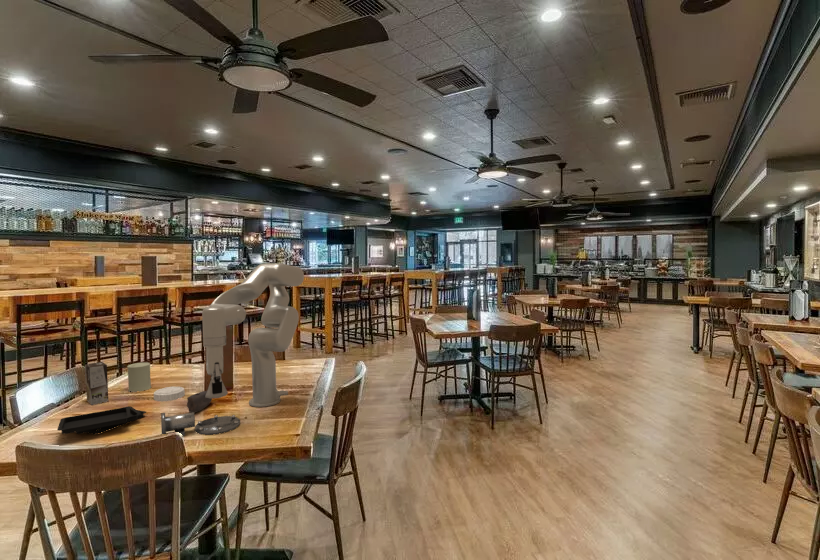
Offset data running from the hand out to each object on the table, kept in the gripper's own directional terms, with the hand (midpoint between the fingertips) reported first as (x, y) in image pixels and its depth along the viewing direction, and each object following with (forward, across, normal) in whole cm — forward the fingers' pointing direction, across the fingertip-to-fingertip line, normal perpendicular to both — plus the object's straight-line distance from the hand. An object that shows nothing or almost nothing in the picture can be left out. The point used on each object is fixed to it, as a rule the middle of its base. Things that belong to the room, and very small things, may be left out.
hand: (216, 390), depth 156 cm
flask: (+2, 0, 0) cm, 2 cm away
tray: (+14, -21, -36) cm, 43 cm away
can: (+13, -69, -27) cm, 75 cm away
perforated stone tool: (+13, -24, -4) cm, 28 cm away
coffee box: (+13, -58, -42) cm, 73 cm away
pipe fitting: (+13, 0, -5) cm, 14 cm away
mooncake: (+14, -48, -15) cm, 52 cm away
